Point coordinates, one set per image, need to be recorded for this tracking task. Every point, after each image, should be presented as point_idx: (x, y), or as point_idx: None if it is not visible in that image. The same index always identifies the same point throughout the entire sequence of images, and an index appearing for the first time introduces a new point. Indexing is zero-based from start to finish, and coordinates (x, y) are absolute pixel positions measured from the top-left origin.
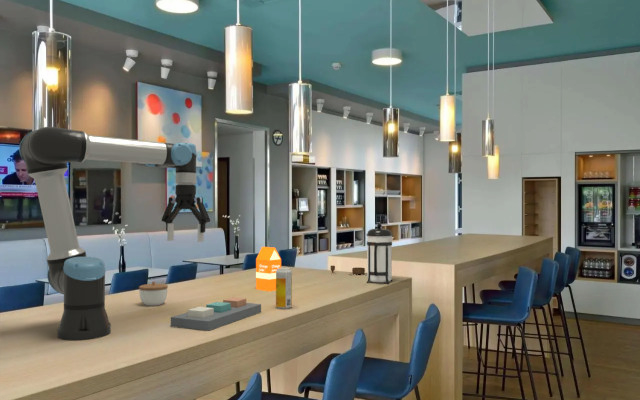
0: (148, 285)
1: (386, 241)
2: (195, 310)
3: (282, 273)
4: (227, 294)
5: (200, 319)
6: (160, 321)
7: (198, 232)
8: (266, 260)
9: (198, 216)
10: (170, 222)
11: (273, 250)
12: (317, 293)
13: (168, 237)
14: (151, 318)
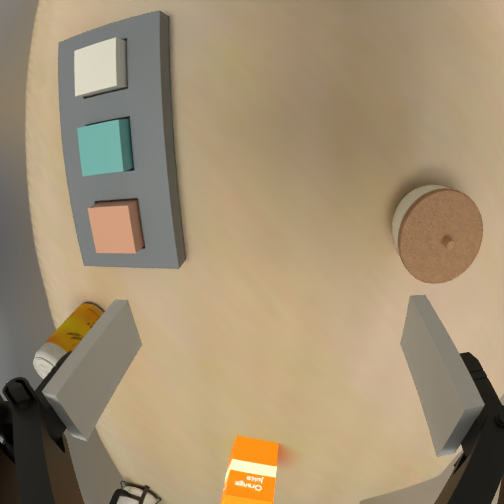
0: (458, 231)
1: None
2: (94, 45)
3: (40, 349)
4: (315, 403)
5: (81, 41)
6: (236, 39)
7: (88, 343)
8: (236, 496)
9: (15, 453)
10: (466, 444)
11: None
12: (153, 440)
13: (424, 311)
14: (291, 56)
